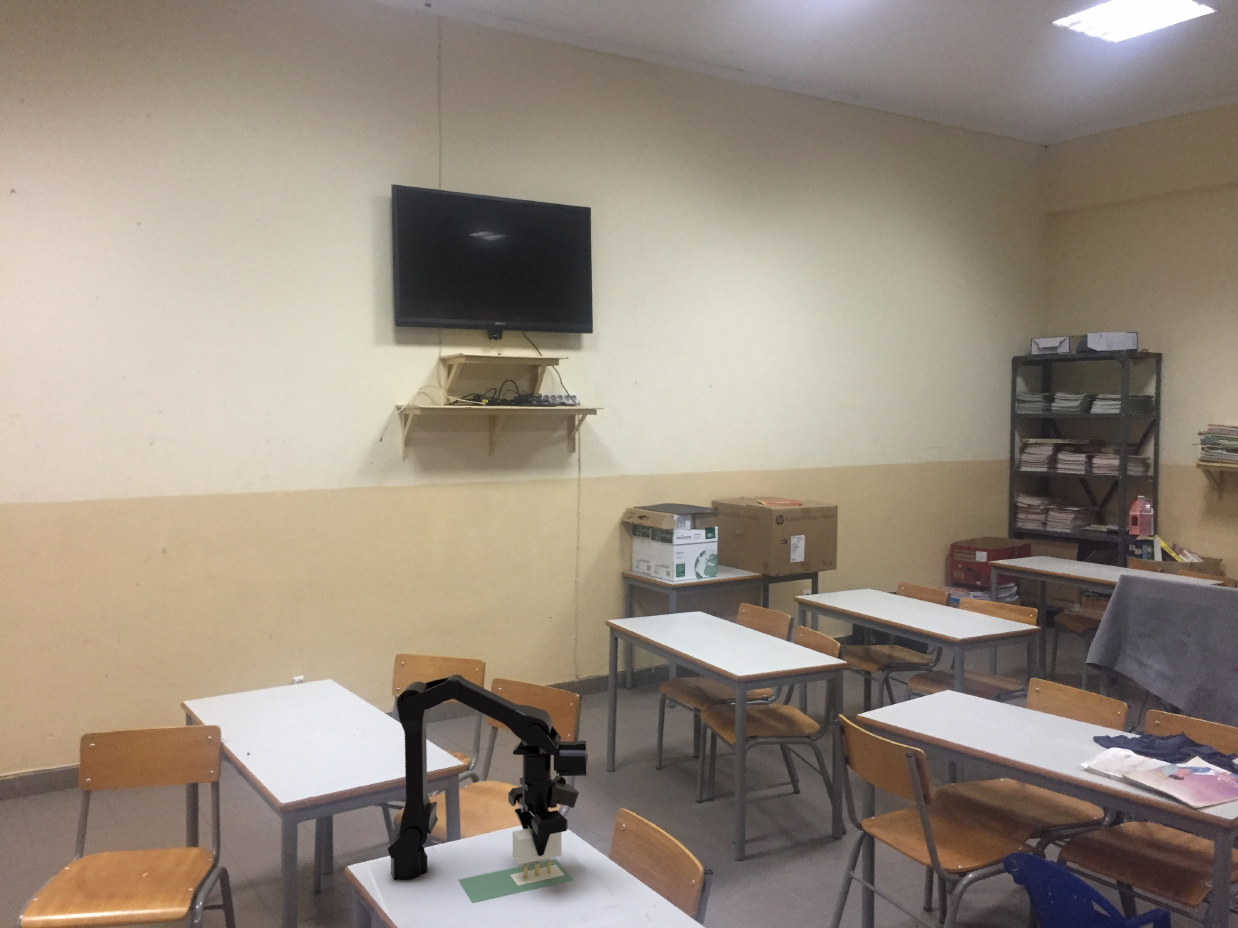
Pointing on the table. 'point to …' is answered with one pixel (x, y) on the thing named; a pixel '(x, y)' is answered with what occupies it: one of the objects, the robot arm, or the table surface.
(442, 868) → the table surface
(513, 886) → the board
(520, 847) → the block
